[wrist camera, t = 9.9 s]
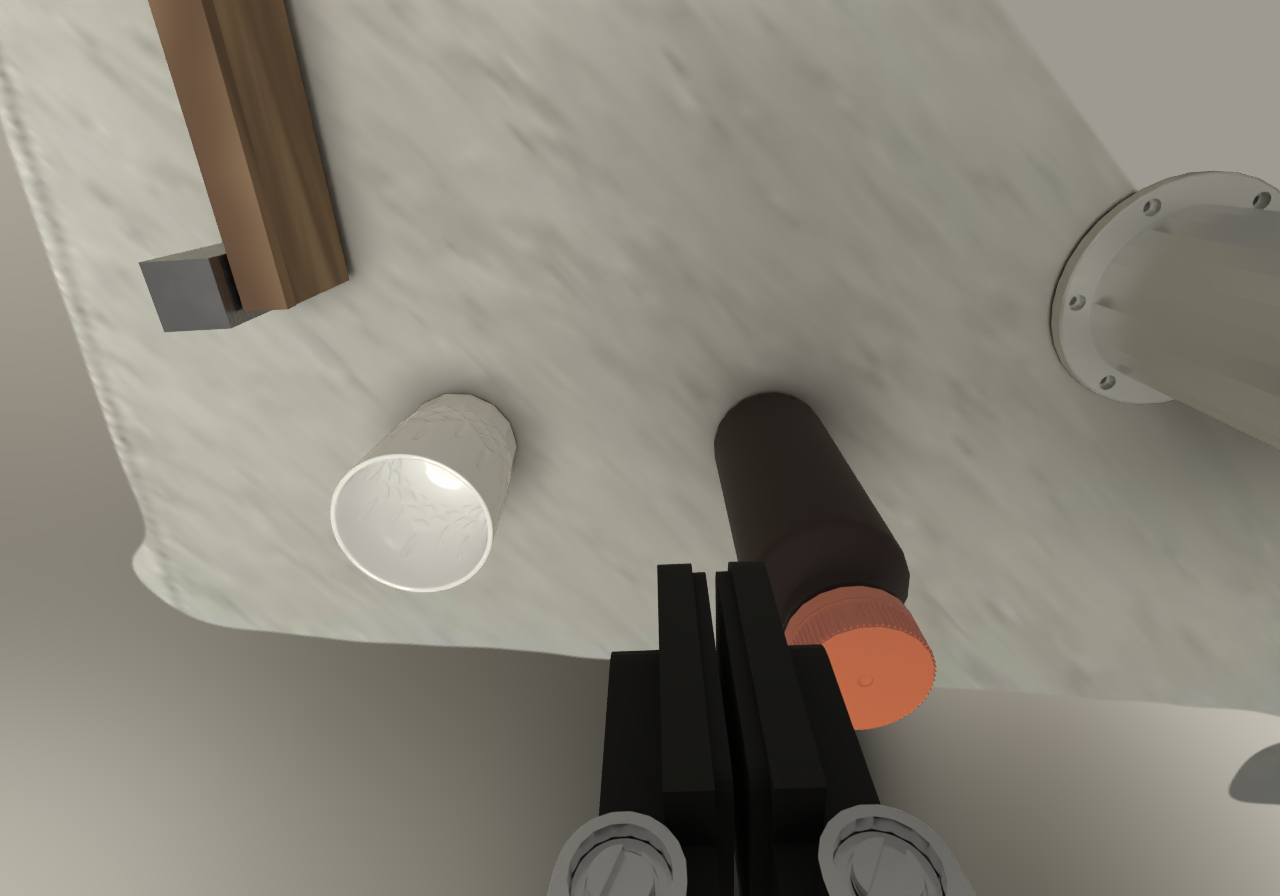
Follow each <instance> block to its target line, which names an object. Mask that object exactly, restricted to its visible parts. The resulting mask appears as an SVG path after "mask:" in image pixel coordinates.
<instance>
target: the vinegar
mask: <svg viewBox="0 0 1280 896" xmlns="http://www.w3.org/2000/svg"><path fill="white" fill-rule="evenodd" d="M714 447H715V460H716V464H717V469H718V473H719V478H720V482H721V487H722V491H723V496H724V500H725V505H726V509H727V514H728V518H729V523H730V527H731V532H732V536H733V541H734V545H735V550H736V554H737V559H738V562H739V561H764V563H765V565H766V569H767V573H768V576H769V580H770V583H771V587H772V590H773V594H774V598H775V601H776V605H777V608H778V612H779V616H780V619H781V623H782V626H783V630H784V633H785V637H786V641H787V644H788V645H810V644H822V645H823V646H824V648H825V650H826V652H827V654H828V657H829V659H830V662H831V665H832V668H833V671H834V674H835V677H836V679H837V682H838V685H839V688H840V691H841V694H842V696H843V699H844V702H845V705H846V708H847V711H848V713H849V716H850V719H851V722H852V725H853V728H854V730H858V729H859V730H860V729H865V730H866V729H873V728H876V727H880V726H884V725H887V724H890V723H893V722H895V721H897V720H898V719H899V720H900V718H902V717H905V716H906V715H908V714H910V713H911V712H912V711H913V710H914V709H915V708H916V707H918V705H919V704H920V703H922V701H923V700H924V699H925V697H926V695H927V694H929V693H928V692H929V690H931V686H933V681H935V680H934V678H933V677H936V675H935V673H934V672H936V670H935V668H936V665H935V663H936V662H935V660H934V656H933V653H932V651H931V649H930V647H929V646H928V644H927V642H926V640H925V638H924V637H923V635H922V633H921V631H920V630H919V628H918V625H917V624H916V622H915V620H914V618H913V617H912V615H911V613H910V611H909V610H908V609H907V608H906V607H905V605H904V603H905V601H906V599H907V597H908V587H909V578H910V573H909V570H908V566H907V563H906V560H905V556H904V553H903V551H902V549H901V548H900V546H899V544H898V543H897V541H896V540H895V538H894V536H893V535H892V533H891V532H890V530H889V529H888V527H887V525H886V524H885V522H884V521H883V519H882V517H881V516H880V514H879V513H878V511H877V509H876V508H875V506H874V505H873V503H872V502H871V500H870V498H869V497H868V495H867V494H866V492H865V490H864V489H863V487H862V486H861V484H860V482H859V481H858V479H857V478H856V476H855V475H854V473H853V471H852V470H851V468H850V467H849V465H848V463H847V462H846V460H845V459H844V457H843V456H842V454H841V452H840V451H839V449H838V448H837V446H836V444H835V443H834V441H833V440H832V438H831V436H830V435H829V433H828V432H827V430H826V429H825V427H824V425H823V424H822V422H821V421H820V419H819V418H818V416H817V415H816V414H815V413H814V411H813V410H812V409H811V408H810V407H809V406H808V405H807V404H805V403H803V402H802V401H800V400H798V399H797V398H795V397H792V396H787V395H783V394H778V393H773V394H760V395H757V396H754V397H752V398H749V399H746V400H744V401H742V402H741V403H739V404H738V405H737V406H736V407H734V408H733V409H732V410H730V411H729V412H728V414H727V415H726V417H725V418H724V419H723V421H722V422H721V424H720V425H719V428H718V431H717V434H716V437H715V441H714Z"/></svg>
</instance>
